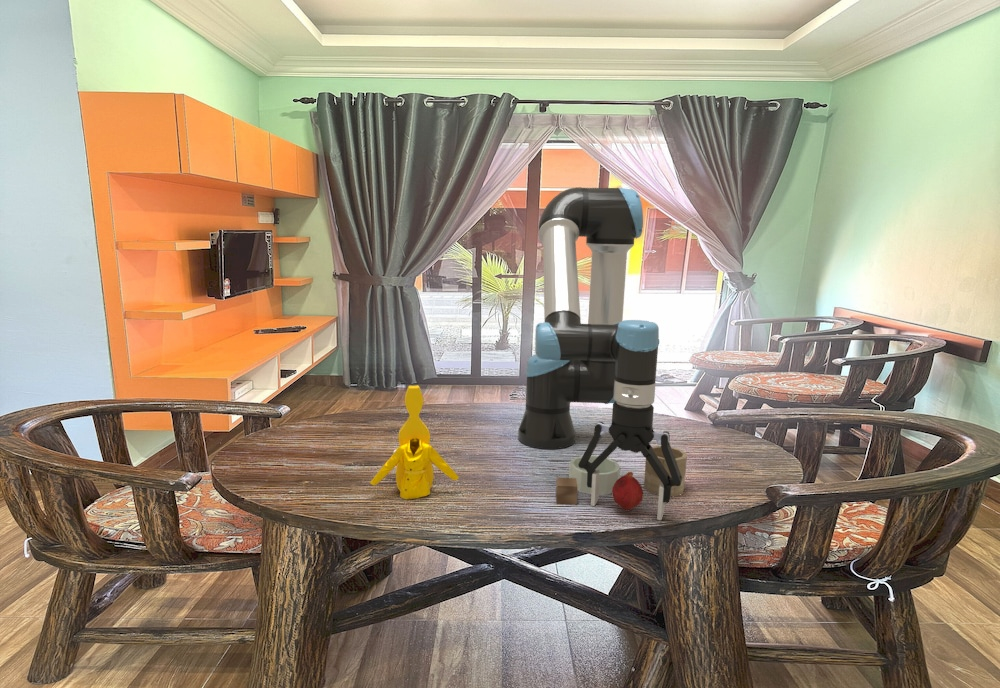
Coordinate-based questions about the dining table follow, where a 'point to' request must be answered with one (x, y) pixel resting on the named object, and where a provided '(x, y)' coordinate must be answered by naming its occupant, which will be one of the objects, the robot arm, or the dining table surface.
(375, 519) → the dining table surface
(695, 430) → the dining table surface
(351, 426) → the dining table surface
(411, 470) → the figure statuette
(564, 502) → the walnut block
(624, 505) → the onion
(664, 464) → the canister
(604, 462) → the bowl
